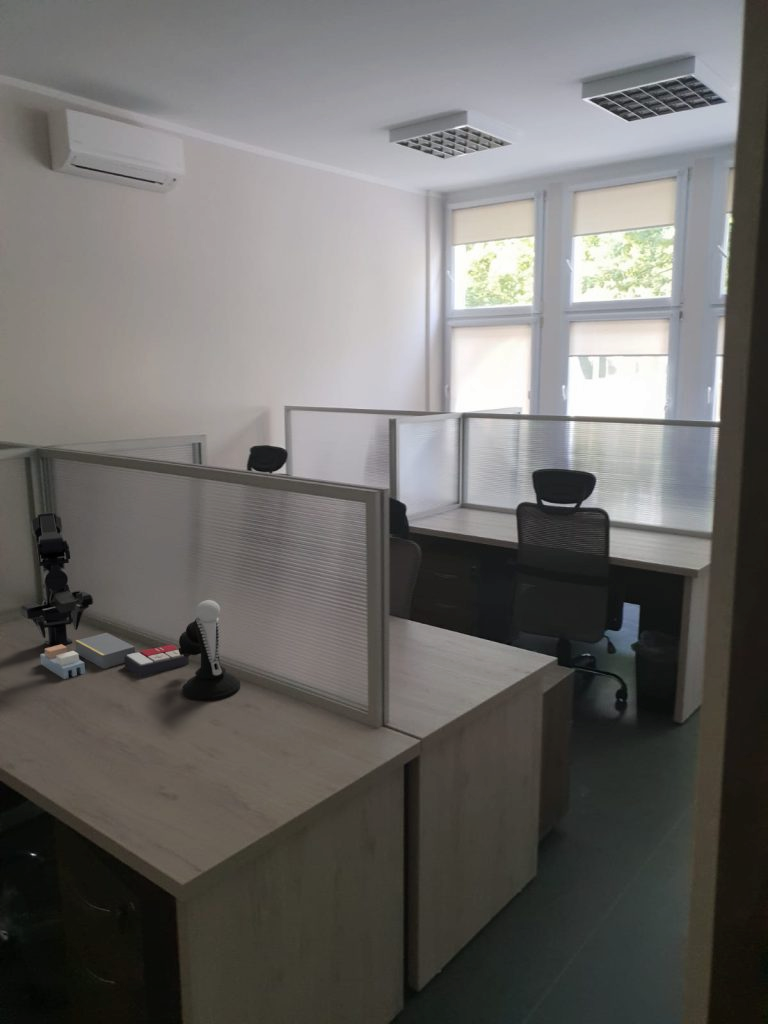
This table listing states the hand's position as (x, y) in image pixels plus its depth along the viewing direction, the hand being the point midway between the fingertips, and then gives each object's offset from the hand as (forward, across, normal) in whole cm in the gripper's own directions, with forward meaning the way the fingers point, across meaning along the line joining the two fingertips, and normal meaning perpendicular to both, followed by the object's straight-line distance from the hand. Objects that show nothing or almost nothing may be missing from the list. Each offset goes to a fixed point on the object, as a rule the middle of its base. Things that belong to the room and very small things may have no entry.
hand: (60, 633), depth 224 cm
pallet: (+11, 0, 0) cm, 11 cm away
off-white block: (+7, 0, -4) cm, 8 cm away
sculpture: (+11, +22, -40) cm, 47 cm away
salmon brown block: (+8, 0, +4) cm, 8 cm away
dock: (+11, +13, 0) cm, 17 cm away
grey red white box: (+11, +20, -18) cm, 29 cm away
